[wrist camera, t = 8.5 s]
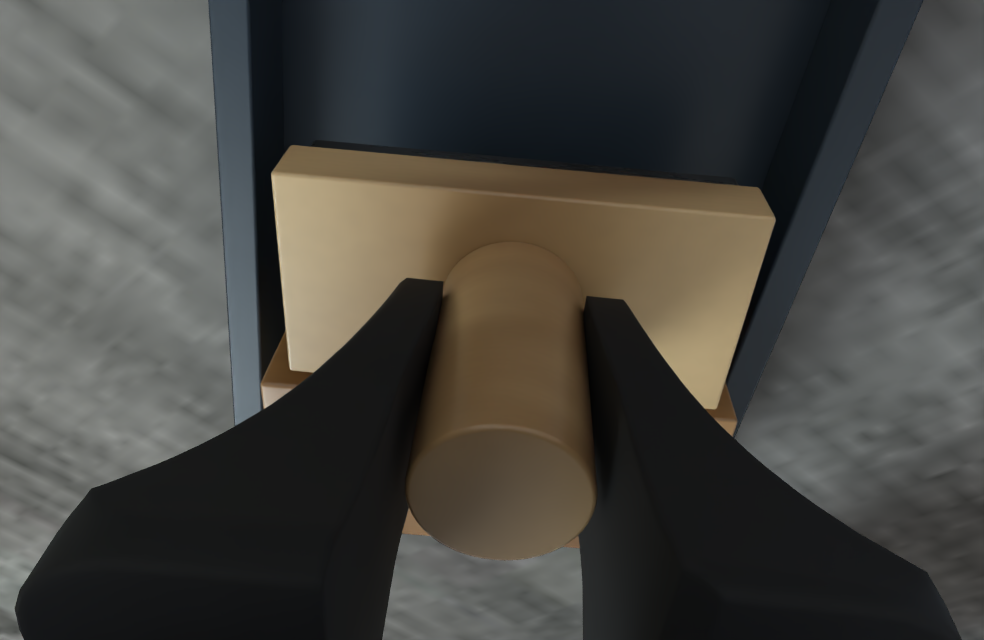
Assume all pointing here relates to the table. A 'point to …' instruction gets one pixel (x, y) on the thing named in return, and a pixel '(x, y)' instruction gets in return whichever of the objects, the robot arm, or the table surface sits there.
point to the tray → (550, 114)
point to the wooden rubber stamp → (512, 309)
